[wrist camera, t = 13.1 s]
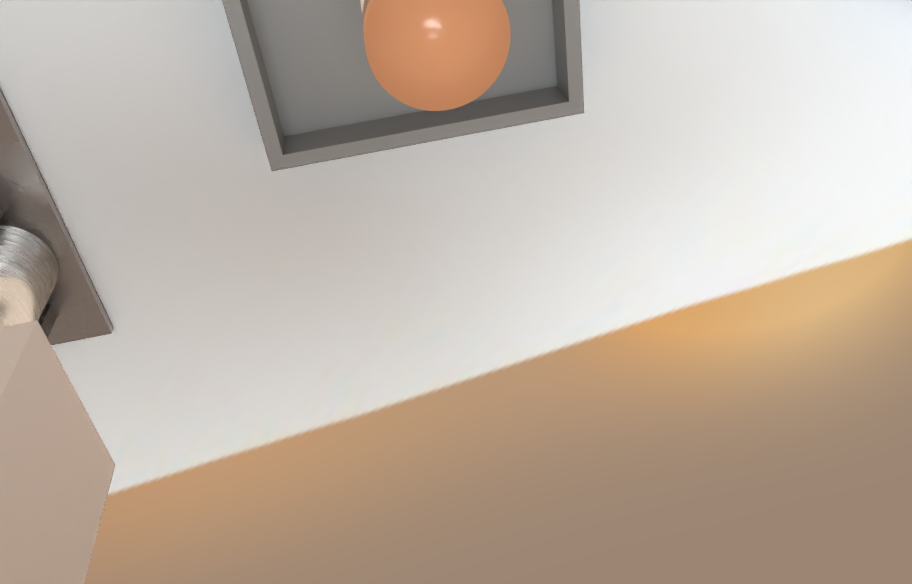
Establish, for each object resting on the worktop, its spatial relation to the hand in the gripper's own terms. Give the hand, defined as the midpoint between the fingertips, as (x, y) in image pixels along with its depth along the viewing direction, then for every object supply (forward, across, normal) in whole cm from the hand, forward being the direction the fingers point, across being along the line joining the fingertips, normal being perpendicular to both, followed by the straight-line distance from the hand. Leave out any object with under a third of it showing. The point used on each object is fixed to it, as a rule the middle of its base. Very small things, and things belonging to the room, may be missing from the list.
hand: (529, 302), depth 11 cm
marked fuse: (+23, +1, 0) cm, 23 cm away
